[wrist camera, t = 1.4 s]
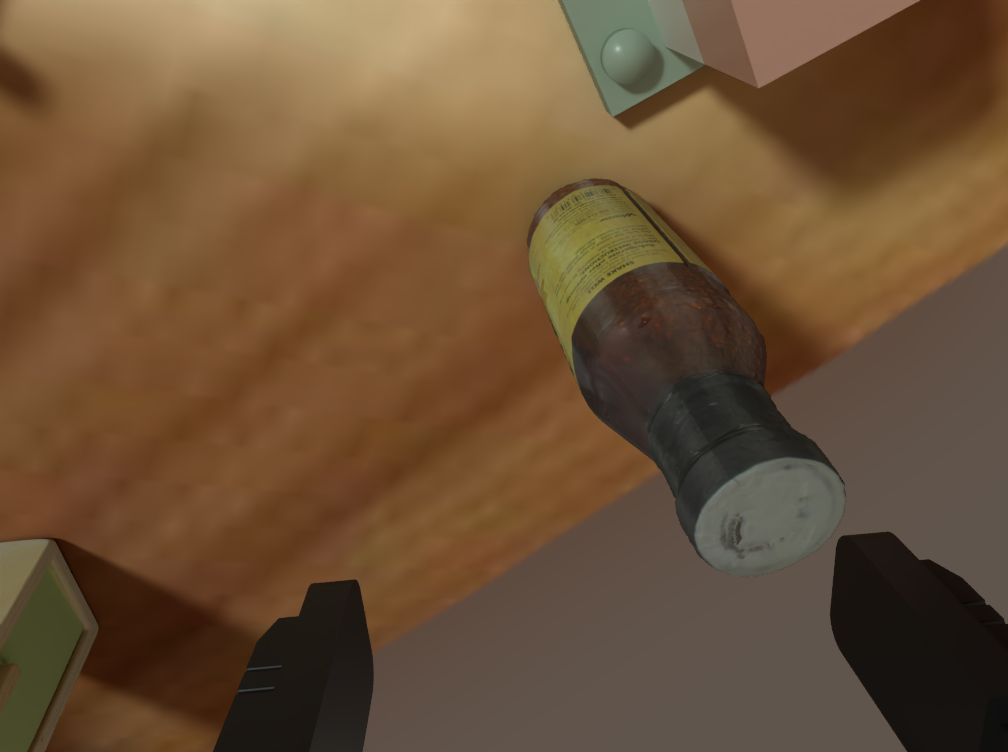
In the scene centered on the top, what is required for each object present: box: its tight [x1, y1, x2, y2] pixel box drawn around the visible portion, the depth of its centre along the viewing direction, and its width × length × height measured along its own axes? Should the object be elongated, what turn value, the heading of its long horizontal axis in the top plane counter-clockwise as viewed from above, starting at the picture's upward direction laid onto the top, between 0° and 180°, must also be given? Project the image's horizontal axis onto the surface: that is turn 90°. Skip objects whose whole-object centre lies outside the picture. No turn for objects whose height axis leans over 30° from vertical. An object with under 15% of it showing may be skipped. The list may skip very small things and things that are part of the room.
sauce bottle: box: [527, 179, 846, 577], centre depth 26 cm, size 6×6×20 cm
